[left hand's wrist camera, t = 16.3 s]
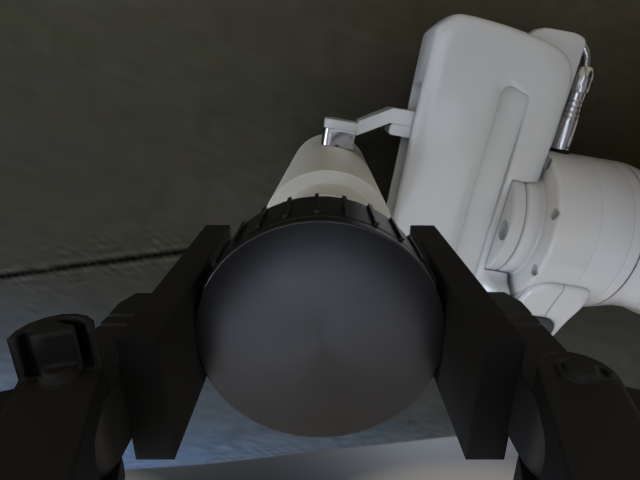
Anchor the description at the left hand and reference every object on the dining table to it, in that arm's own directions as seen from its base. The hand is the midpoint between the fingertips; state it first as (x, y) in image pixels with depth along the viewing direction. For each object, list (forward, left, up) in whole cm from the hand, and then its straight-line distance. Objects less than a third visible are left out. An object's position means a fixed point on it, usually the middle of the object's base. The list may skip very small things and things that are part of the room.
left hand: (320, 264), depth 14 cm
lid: (0, 0, +4) cm, 4 cm away
